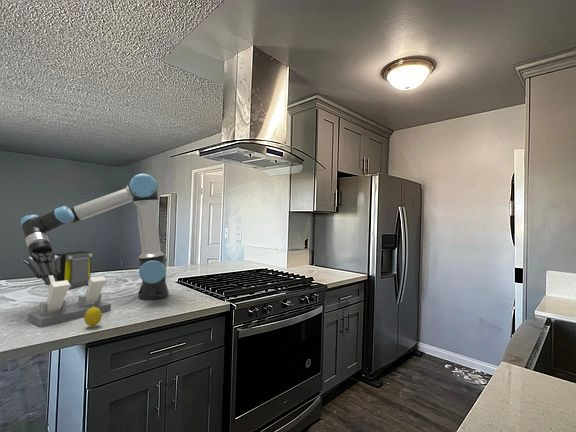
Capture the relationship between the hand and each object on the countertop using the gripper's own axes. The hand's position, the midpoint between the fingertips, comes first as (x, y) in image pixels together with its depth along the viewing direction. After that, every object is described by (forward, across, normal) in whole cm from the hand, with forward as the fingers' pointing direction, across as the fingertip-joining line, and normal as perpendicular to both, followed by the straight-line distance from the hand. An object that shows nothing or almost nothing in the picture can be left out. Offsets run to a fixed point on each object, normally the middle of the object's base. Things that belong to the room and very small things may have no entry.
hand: (54, 290), depth 120 cm
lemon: (+22, -6, +5) cm, 23 cm away
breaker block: (+8, -8, -10) cm, 15 cm away
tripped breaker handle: (+4, -1, -8) cm, 9 cm away
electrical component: (-32, -33, -50) cm, 68 cm away
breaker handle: (+4, -15, -8) cm, 17 cm away
